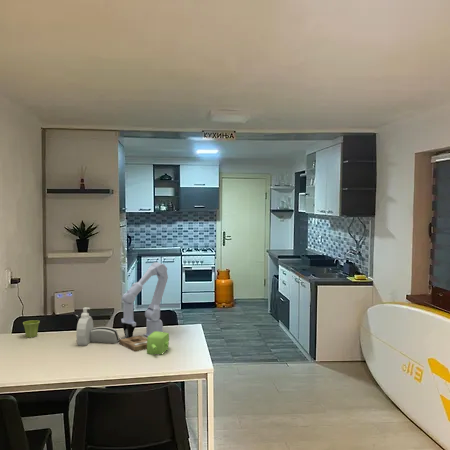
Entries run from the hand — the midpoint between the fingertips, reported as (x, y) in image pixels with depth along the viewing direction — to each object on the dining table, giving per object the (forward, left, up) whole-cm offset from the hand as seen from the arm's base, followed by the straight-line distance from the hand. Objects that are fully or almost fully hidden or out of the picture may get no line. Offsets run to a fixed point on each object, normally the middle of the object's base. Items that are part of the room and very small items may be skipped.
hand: (128, 336), depth 257 cm
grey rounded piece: (+13, -4, -2) cm, 14 cm away
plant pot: (+42, -43, -2) cm, 60 cm away
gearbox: (-1, +32, -2) cm, 32 cm away
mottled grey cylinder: (0, 0, -2) cm, 2 cm away
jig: (+2, +14, -2) cm, 14 cm away
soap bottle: (+22, -10, -2) cm, 24 cm away
